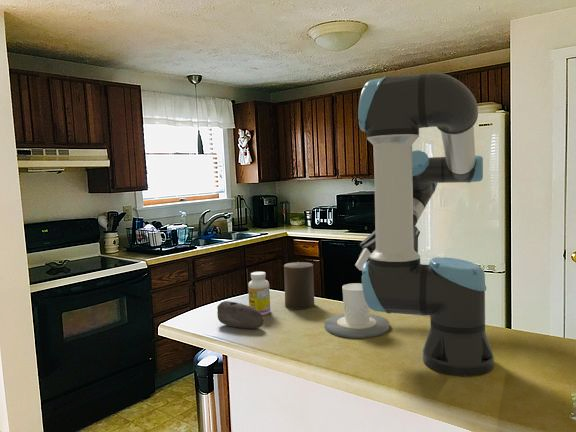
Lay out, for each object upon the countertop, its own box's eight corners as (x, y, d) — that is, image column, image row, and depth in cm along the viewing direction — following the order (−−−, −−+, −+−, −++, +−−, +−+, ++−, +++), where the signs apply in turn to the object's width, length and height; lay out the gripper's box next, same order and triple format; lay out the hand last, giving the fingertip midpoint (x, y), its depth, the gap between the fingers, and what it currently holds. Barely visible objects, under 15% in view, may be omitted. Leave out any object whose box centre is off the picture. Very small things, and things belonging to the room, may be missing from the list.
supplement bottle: (247, 311, 153) (245, 272, 152) (267, 308, 155) (265, 269, 154) (252, 317, 147) (250, 276, 145) (272, 314, 149) (271, 274, 147)
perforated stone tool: (268, 328, 137) (267, 304, 136) (258, 333, 132) (256, 309, 132) (227, 320, 145) (226, 298, 144) (216, 326, 140) (214, 303, 139)
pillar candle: (305, 311, 151) (304, 264, 149) (279, 307, 156) (278, 262, 154) (319, 303, 159) (318, 259, 157) (294, 300, 164) (293, 257, 163)
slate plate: (392, 338, 125) (392, 332, 124) (323, 338, 127) (323, 332, 126) (386, 316, 142) (386, 311, 142) (326, 316, 144) (325, 311, 144)
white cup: (339, 323, 133) (337, 288, 132) (349, 315, 140) (348, 282, 139) (366, 327, 129) (365, 291, 128) (375, 318, 136) (374, 284, 135)
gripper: (447, 225, 138) (416, 285, 131) (381, 220, 158) (350, 272, 150) (436, 208, 135) (404, 269, 127) (370, 205, 154) (338, 258, 146)
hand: (375, 271), depth 138 cm, fingers open, 13 cm apart
